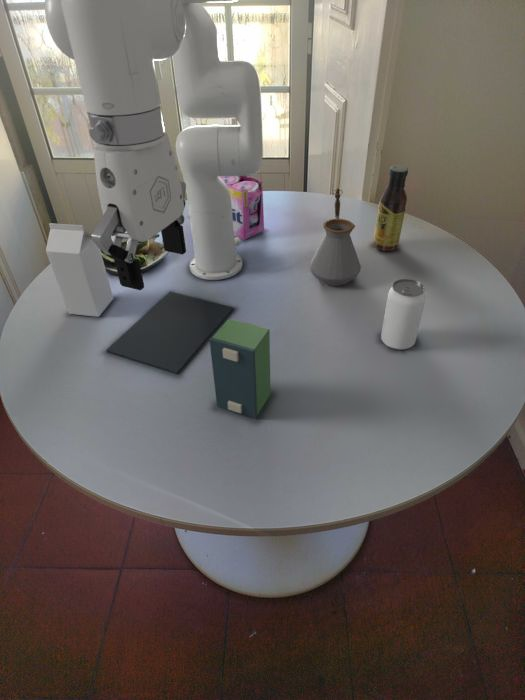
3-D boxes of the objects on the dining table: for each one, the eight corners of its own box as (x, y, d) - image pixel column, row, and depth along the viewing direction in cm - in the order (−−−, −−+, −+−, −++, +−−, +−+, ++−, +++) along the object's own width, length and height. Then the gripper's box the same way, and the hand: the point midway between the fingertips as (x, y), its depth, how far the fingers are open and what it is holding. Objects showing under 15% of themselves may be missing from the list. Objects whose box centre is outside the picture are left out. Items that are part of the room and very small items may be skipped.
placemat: (170, 293, 105) (170, 291, 104) (233, 309, 99) (233, 307, 99) (106, 352, 90) (106, 350, 89) (177, 374, 84) (176, 372, 84)
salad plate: (138, 232, 128) (135, 216, 125) (186, 249, 120) (184, 233, 117) (81, 262, 116) (75, 245, 113) (130, 283, 108) (125, 266, 105)
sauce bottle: (370, 241, 121) (380, 162, 108) (393, 240, 121) (407, 161, 108) (376, 254, 116) (388, 173, 103) (401, 252, 116) (416, 171, 103)
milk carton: (99, 317, 98) (73, 234, 86) (68, 314, 99) (38, 231, 87) (114, 298, 104) (91, 217, 91) (84, 296, 105) (58, 215, 93)
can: (416, 333, 91) (429, 280, 84) (413, 353, 87) (426, 299, 79) (383, 327, 93) (392, 275, 85) (378, 347, 88) (387, 293, 81)
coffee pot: (360, 291, 103) (368, 228, 93) (308, 289, 104) (311, 226, 95) (356, 245, 119) (362, 187, 110) (311, 244, 120) (313, 186, 111)
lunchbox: (233, 383, 82) (228, 317, 73) (271, 395, 80) (270, 328, 71) (215, 408, 78) (207, 341, 69) (254, 421, 75) (251, 353, 66)
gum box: (268, 232, 126) (267, 182, 117) (247, 242, 122) (245, 191, 113) (211, 208, 139) (206, 161, 131) (190, 216, 135) (183, 169, 126)
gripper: (103, 154, 43) (139, 309, 53) (199, 110, 55) (212, 244, 66) (41, 146, 45) (88, 296, 56) (145, 106, 57) (167, 236, 68)
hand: (155, 268), depth 61 cm, fingers open, 9 cm apart
